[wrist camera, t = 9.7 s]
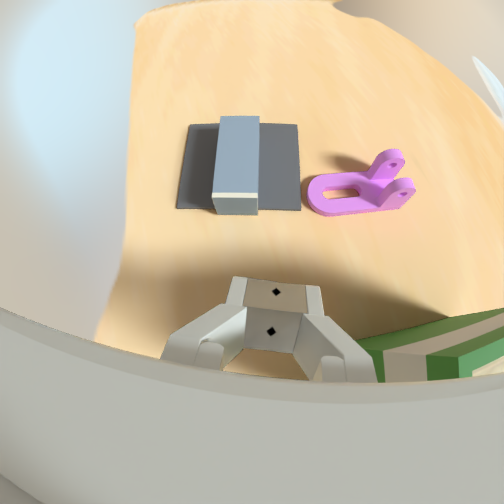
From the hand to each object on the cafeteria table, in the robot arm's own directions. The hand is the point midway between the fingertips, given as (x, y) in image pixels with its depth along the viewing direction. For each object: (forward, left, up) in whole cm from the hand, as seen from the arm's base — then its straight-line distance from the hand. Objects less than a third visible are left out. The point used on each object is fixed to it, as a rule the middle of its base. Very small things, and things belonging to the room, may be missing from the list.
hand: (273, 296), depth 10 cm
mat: (+9, +19, -24) cm, 32 cm away
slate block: (+5, +13, -22) cm, 25 cm away
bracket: (+19, +7, -25) cm, 32 cm away
